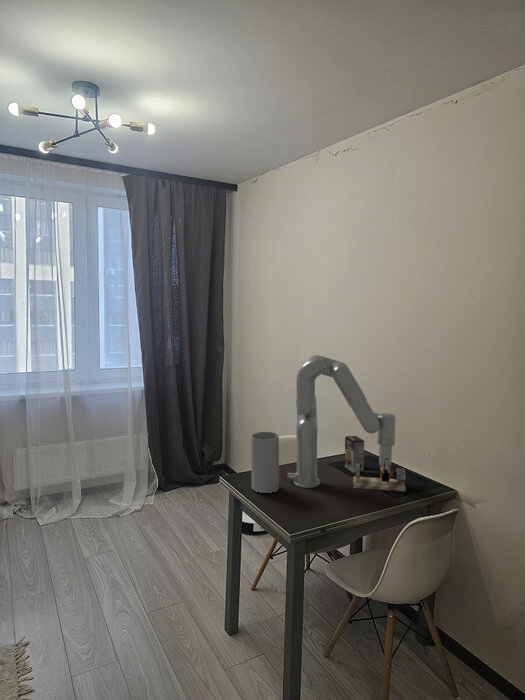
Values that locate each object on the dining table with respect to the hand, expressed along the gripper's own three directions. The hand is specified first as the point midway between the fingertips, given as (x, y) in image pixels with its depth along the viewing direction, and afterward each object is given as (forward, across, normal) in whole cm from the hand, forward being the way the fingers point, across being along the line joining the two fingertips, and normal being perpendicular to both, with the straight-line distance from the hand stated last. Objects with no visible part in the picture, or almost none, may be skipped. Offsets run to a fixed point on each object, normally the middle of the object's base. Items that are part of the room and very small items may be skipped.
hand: (385, 478), depth 212 cm
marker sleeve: (-1, 0, 0) cm, 1 cm away
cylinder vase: (+4, +13, -54) cm, 56 cm away
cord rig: (+3, 0, -3) cm, 4 cm away
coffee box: (+4, -19, -14) cm, 24 cm away
